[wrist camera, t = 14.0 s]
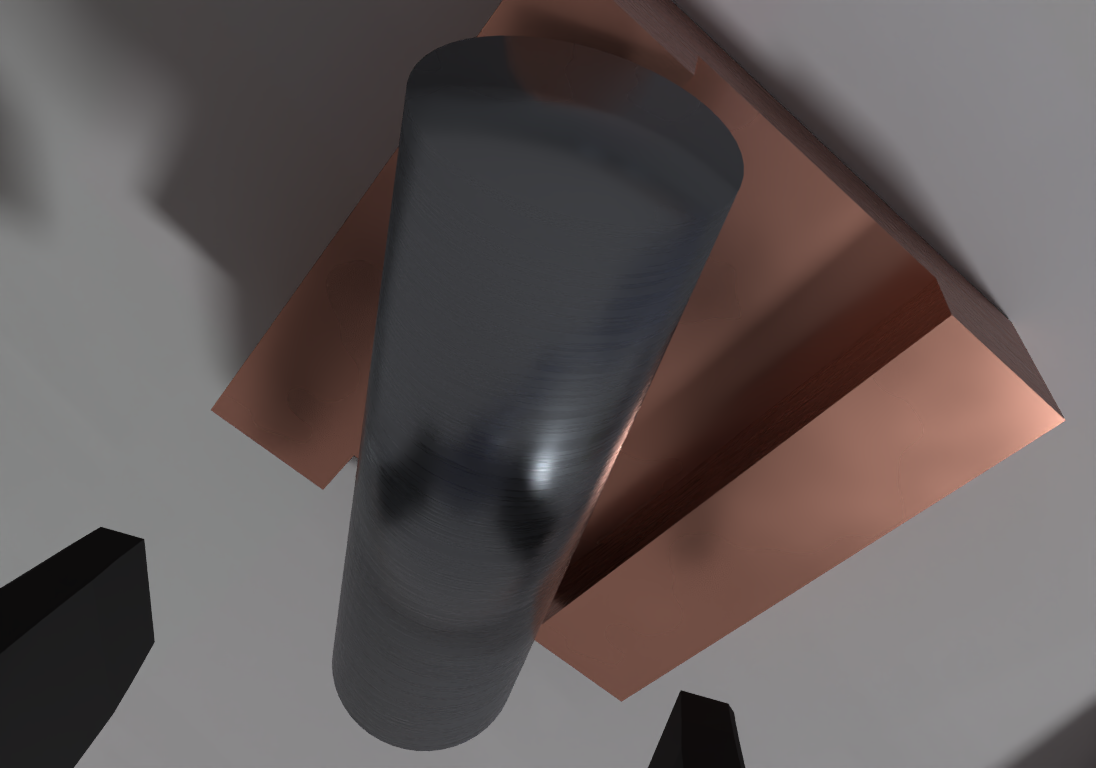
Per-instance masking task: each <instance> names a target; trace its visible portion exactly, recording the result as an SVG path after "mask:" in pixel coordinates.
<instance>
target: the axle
mask: <svg viewBox="0 0 1096 768" xmlns="http://www.w3.org/2000/svg"><path fill="white" fill-rule="evenodd" d="M743 177H744V163H743V158H742V153H741V151H740V149H739V146H738V144H737V142H736V140H735V139H734V137H733V135H732V134H731V132H730V131H729V129H728V128H727V127H726V126H725V125H724V123H723V122H722V121H721V120H720V119H719V118H718V117H717V116H716V115H715V114H714V113H713V112H712V111H711V110H710V109H709V108H708V107H707V106H706V105H704V104H703V103H702V102H701V101H700V100H698V99H697V98H696V97H694V96H693V95H692V94H690V93H689V92H687V91H686V90H684V89H683V88H681V87H680V86H678V85H676V84H675V83H673V82H671V81H670V80H668V79H666V78H665V77H663V76H661V75H659V74H657V73H655V72H653V71H651V70H649V69H647V68H645V67H642V66H640V65H638V64H636V63H633V62H631V61H629V60H626V59H623V58H621V57H618V56H615V55H613V54H610V53H606V52H603V51H600V50H597V49H594V48H590V47H586V46H582V45H578V44H574V43H569V42H564V41H559V40H554V39H547V38H539V37H529V36H504V35H499V36H484V37H476V38H470V39H464V40H461V41H457V42H453V43H450V44H447V45H445V46H442V47H440V48H437V49H436V50H434V51H432V52H431V53H429V54H427V55H426V56H425V57H424V58H423V59H421V60H420V61H419V62H418V63H417V64H416V66H415V67H414V69H413V70H412V72H411V74H410V76H409V79H408V82H407V88H406V96H405V104H404V111H403V119H402V127H401V134H400V142H399V150H398V157H397V165H396V173H395V180H394V188H393V196H392V203H391V211H390V219H389V226H388V234H387V242H386V249H385V257H384V265H383V272H382V280H381V288H380V295H379V303H378V311H377V318H376V326H375V334H374V341H373V349H372V357H371V364H370V372H369V380H368V387H367V395H366V403H365V410H364V418H363V426H362V434H361V441H360V449H359V457H358V464H357V472H356V480H355V487H354V495H353V503H352V510H351V518H350V526H349V533H348V541H347V549H346V556H345V564H344V572H343V579H342V587H341V595H340V602H339V610H338V618H337V625H336V633H335V641H334V648H333V658H332V671H333V678H334V683H335V687H336V690H337V693H338V696H339V698H340V700H341V702H342V704H343V705H344V707H345V709H346V710H347V711H348V713H349V714H350V716H351V717H352V718H353V719H354V720H355V721H356V722H357V723H358V725H359V726H361V727H362V728H363V729H364V730H366V731H367V732H368V733H369V734H371V735H372V736H374V737H376V738H377V739H379V740H381V741H383V742H385V743H388V744H390V745H393V746H396V747H400V748H403V749H409V750H415V751H433V750H442V749H446V748H450V747H454V746H457V745H459V744H462V743H464V742H466V741H468V740H470V739H472V738H473V737H475V736H477V735H478V734H479V733H481V732H482V731H483V730H485V729H486V728H487V727H488V726H489V725H490V724H491V723H492V722H493V721H494V720H495V719H496V717H497V716H498V714H499V713H500V712H501V710H502V709H503V707H504V705H505V703H506V701H507V699H508V697H509V695H510V693H511V690H512V688H513V686H514V684H515V682H516V679H517V677H518V675H519V673H520V671H521V668H522V666H523V664H524V662H525V660H526V657H527V655H528V653H529V651H530V649H531V646H532V644H533V642H534V640H535V638H536V635H537V633H538V631H539V629H540V627H541V624H542V622H543V620H544V618H545V616H546V613H547V611H548V609H549V607H550V605H551V602H552V600H553V598H554V596H555V594H556V591H557V589H558V587H559V585H560V583H561V580H562V578H563V576H564V574H565V572H566V569H567V567H568V565H569V563H570V561H571V558H572V556H573V554H574V552H575V550H576V547H577V545H578V543H579V541H580V539H581V536H582V534H583V532H584V530H585V528H586V525H587V523H588V521H589V519H590V517H591V514H592V512H593V510H594V508H595V506H596V503H597V501H598V499H599V497H600V495H601V492H602V490H603V488H604V486H605V484H606V481H607V479H608V477H609V475H610V473H611V470H612V468H613V466H614V464H615V462H616V459H617V457H618V455H619V453H620V451H621V448H622V446H623V444H624V442H625V440H626V437H627V435H628V433H629V431H630V429H631V426H632V424H633V422H634V420H635V418H636V415H637V413H638V411H639V409H640V407H641V404H642V402H643V400H644V398H645V396H646V393H647V391H648V389H649V387H650V385H651V382H652V380H653V378H654V376H655V374H656V371H657V369H658V367H659V365H660V363H661V360H662V358H663V356H664V354H665V352H666V349H667V347H668V345H669V343H670V341H671V338H672V336H673V334H674V332H675V330H676V327H677V325H678V323H679V321H680V319H681V316H682V314H683V312H684V310H685V308H686V305H687V303H688V301H689V299H690V297H691V294H692V292H693V290H694V288H695V286H696V283H697V281H698V279H699V277H700V275H701V272H702V270H703V268H704V266H705V264H706V261H707V259H708V257H709V255H710V253H711V250H712V248H713V246H714V244H715V242H716V239H717V237H718V235H719V233H720V231H721V228H722V226H723V224H724V222H725V220H726V217H727V215H728V213H729V211H730V209H731V206H732V204H733V202H734V200H735V198H736V195H737V193H738V191H739V189H740V187H741V183H742V180H743Z"/></svg>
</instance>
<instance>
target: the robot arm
mask: <svg viewBox="0 0 1096 768" xmlns="http://www.w3.org/2000/svg"><path fill="white" fill-rule="evenodd" d="M154 642H155V641H154V631H153V621H152V611H151V602H150V592H149V582H148V572H147V562H146V552H145V543H144V539H142V538H138V537H135V536H131V535H128V534H124V533H121V532H117V531H114V530H110V529H106V528H103V527H100V528H98V529H96V530H95V531H93V532H91V533H90V534H88V535H86V536H85V537H83V538H81V539H80V540H78V541H76V542H74V543H73V544H71V545H70V546H68V547H66V548H65V549H63V550H61V551H60V552H58V553H57V554H55V555H53V556H52V557H50V558H49V559H47V560H45V561H44V562H42V563H40V564H39V565H37V566H36V567H34V568H32V569H31V570H29V571H28V572H26V573H24V574H23V575H21V576H19V577H18V578H16V579H15V580H13V581H11V582H10V583H8V584H6V585H5V586H3V587H2V588H0V768H74V767H75V765H76V764H77V763H78V761H79V760H80V758H81V757H82V756H83V754H84V753H85V752H86V750H87V749H88V748H89V746H90V745H91V744H92V742H93V741H94V739H95V738H96V737H97V735H98V734H99V733H100V731H101V730H102V729H103V727H104V726H105V724H106V723H107V722H108V720H109V719H110V717H111V716H112V715H113V713H114V712H115V710H116V708H117V707H118V705H119V703H120V702H121V700H122V698H123V696H124V695H125V693H126V691H127V690H128V688H129V686H130V685H131V683H132V681H133V680H134V678H135V676H136V674H137V673H138V671H139V669H140V667H141V665H142V664H143V662H144V660H145V658H146V656H147V655H148V653H149V651H150V649H151V648H152V646H153V644H154ZM648 768H745V765H744V760H743V756H742V751H741V747H740V742H739V737H738V732H737V727H736V722H735V716H734V712H733V710H732V709H731V707H730V706H729V704H727V703H724V702H720V701H717V700H713V699H710V698H706V697H703V696H699V695H695V694H692V693H688V692H685V691H680V693H679V696H678V698H677V700H676V703H675V705H674V707H673V710H672V712H671V715H670V717H669V719H668V722H667V724H666V726H665V729H664V731H663V734H662V736H661V738H660V741H659V743H658V745H657V748H656V750H655V752H654V755H653V757H652V760H651V762H650V764H649V767H648Z"/></svg>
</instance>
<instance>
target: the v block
mask: <svg viewBox="0 0 1096 768" xmlns="http://www.w3.org/2000/svg"><path fill="white" fill-rule="evenodd" d="M499 35H504V36H529V37H539V38H547V39H554V40H559V41H564V42H569V43H574V44H578V45H582V46H586V47H590V48H594V49H597V50H600V51H603V52H606V53H610V54H613V55H615V56H618V57H621V58H623V59H626V60H629V61H631V62H633V63H636V64H638V65H640V66H642V67H645V68H647V69H649V70H651V71H653V72H655V73H657V74H659V75H661V76H663V77H665V78H666V79H668V80H670V81H671V82H673V83H675V84H676V85H678V86H680V87H681V88H683V89H684V90H686V91H687V92H689V93H690V94H692V95H693V96H694V97H696V98H697V99H698V100H700V101H701V102H702V103H703V104H704V105H706V106H707V107H708V108H709V109H710V110H711V111H712V112H713V113H714V114H715V115H716V116H717V117H718V118H719V119H720V120H721V121H722V122H723V123H724V125H725V126H726V127H727V128H728V129H729V131H730V132H731V134H732V135H733V137H734V139H735V140H736V142H737V144H738V146H739V149H740V151H741V153H742V158H743V163H744V177H743V180H742V183H741V187H740V189H739V191H738V193H737V195H736V198H735V200H734V202H733V204H732V206H731V209H730V211H729V213H728V215H727V217H726V220H725V222H724V224H723V226H722V228H721V231H720V233H719V235H718V237H717V239H716V242H715V244H714V246H713V248H712V250H711V253H710V255H709V257H708V259H707V261H706V264H705V266H704V268H703V270H702V272H701V275H700V277H699V279H698V281H697V283H696V286H695V288H694V290H693V292H692V294H691V297H690V299H689V301H688V303H687V305H686V308H685V310H684V312H683V314H682V316H681V319H680V321H679V323H678V325H677V327H676V330H675V332H674V334H673V336H672V338H671V341H670V343H669V345H668V347H667V349H666V352H665V354H664V356H663V358H662V360H661V363H660V365H659V367H658V369H657V371H656V374H655V376H654V378H653V380H652V382H651V385H650V387H649V389H648V391H647V393H646V396H645V398H644V400H643V402H642V404H641V407H640V409H639V411H638V413H637V415H636V418H635V420H634V422H633V424H632V426H631V429H630V431H629V433H628V435H627V437H626V440H625V442H624V444H623V446H622V448H621V451H620V453H619V455H618V457H617V459H616V462H615V464H614V466H613V468H612V470H611V473H610V475H609V477H608V479H607V481H606V484H605V486H604V488H603V490H602V492H601V495H600V497H599V499H598V501H597V503H596V506H595V508H594V510H593V512H592V514H591V517H590V519H589V521H588V523H587V525H586V528H585V530H584V532H583V534H582V536H581V539H580V541H579V543H578V545H577V547H576V550H575V552H574V554H573V556H572V558H571V561H570V563H569V565H568V567H567V569H566V572H565V574H564V576H563V578H562V580H561V583H560V585H559V587H558V589H557V591H556V594H555V596H554V598H553V600H552V602H551V605H550V607H549V609H548V611H547V613H546V616H545V618H544V620H543V622H542V624H541V627H540V629H539V631H538V633H537V635H536V638H535V641H537V642H538V643H540V644H541V645H542V646H544V647H545V648H547V649H548V650H550V651H551V652H552V653H554V654H555V655H557V656H558V657H559V658H561V659H562V660H564V661H565V662H566V663H568V664H569V665H571V666H572V667H573V668H575V669H576V670H578V671H579V672H581V673H582V674H583V675H585V676H586V677H588V678H589V679H590V680H592V681H593V682H595V683H596V684H597V685H599V686H600V687H602V688H603V689H604V690H606V691H607V692H609V693H610V694H612V695H613V696H614V697H616V698H617V699H619V700H620V701H621V702H622V701H623V700H625V699H626V698H628V697H629V696H631V695H633V694H634V693H636V692H637V691H639V690H641V689H642V688H644V687H645V686H647V685H648V684H650V683H652V682H653V681H655V680H656V679H658V678H659V677H661V676H663V675H664V674H666V673H667V672H669V671H671V670H672V669H674V668H675V667H677V666H678V665H680V664H682V663H683V662H685V661H686V660H688V659H689V658H691V657H693V656H694V655H696V654H697V653H699V652H701V651H702V650H704V649H705V648H707V647H708V646H710V645H712V644H713V643H715V642H716V641H718V640H719V639H721V638H723V637H724V636H726V635H727V634H729V633H731V632H732V631H734V630H735V629H737V628H738V627H740V626H742V625H743V624H745V623H746V622H748V621H749V620H751V619H753V618H754V617H756V616H757V615H759V614H761V613H762V612H764V611H765V610H767V609H768V608H770V607H772V606H773V605H775V604H776V603H778V602H779V601H781V600H783V599H784V598H786V597H787V596H789V595H791V594H792V593H794V592H795V591H797V590H798V589H800V588H802V587H803V586H805V585H806V584H808V583H810V582H811V581H813V580H814V579H816V578H817V577H819V576H821V575H822V574H824V573H825V572H827V571H828V570H830V569H832V568H833V567H835V566H836V565H838V564H840V563H841V562H843V561H844V560H846V559H847V558H849V557H851V556H852V555H854V554H855V553H857V552H858V551H860V550H862V549H863V548H865V547H866V546H868V545H870V544H871V543H873V542H874V541H876V540H877V539H879V538H881V537H882V536H884V535H885V534H887V533H888V532H890V531H892V530H893V529H895V528H896V527H898V526H900V525H901V524H903V523H904V522H906V521H907V520H909V519H911V518H912V517H914V516H915V515H917V514H918V513H920V512H922V511H923V510H925V509H926V508H928V507H930V506H931V505H933V504H934V503H936V502H937V501H939V500H941V499H942V498H944V497H945V496H947V495H948V494H950V493H952V492H953V491H955V490H956V489H958V488H960V487H961V486H963V485H964V484H966V483H967V482H969V481H971V480H972V479H974V478H975V477H977V476H979V475H980V474H982V473H983V472H985V471H986V470H988V469H990V468H991V467H993V466H994V465H996V464H997V463H999V462H1001V461H1002V460H1004V459H1005V458H1007V457H1009V456H1010V455H1012V454H1013V453H1015V452H1016V451H1018V450H1020V449H1021V448H1023V447H1024V446H1026V445H1027V444H1029V443H1031V442H1032V441H1034V440H1035V439H1037V438H1039V437H1040V436H1042V435H1043V434H1045V433H1046V432H1048V431H1050V430H1051V429H1053V428H1054V427H1056V426H1057V425H1059V424H1061V423H1062V422H1064V421H1065V419H1064V417H1063V415H1062V413H1061V411H1060V409H1059V408H1058V406H1057V404H1056V402H1055V400H1054V399H1053V397H1052V395H1051V393H1050V391H1049V389H1048V388H1047V386H1046V384H1045V382H1044V380H1043V378H1042V377H1041V375H1040V373H1039V371H1038V369H1037V368H1036V366H1035V364H1034V362H1033V360H1032V358H1031V357H1030V355H1029V353H1028V351H1027V349H1026V348H1025V346H1024V344H1023V342H1022V340H1021V338H1020V337H1019V335H1018V333H1017V331H1016V329H1015V327H1014V326H1013V324H1012V322H1011V321H1009V320H1008V319H1007V318H1006V317H1005V316H1004V315H1003V314H1002V313H1001V312H1000V311H999V310H998V309H997V308H996V307H995V306H994V305H993V304H992V303H990V302H989V301H988V300H987V299H986V298H985V297H984V296H983V295H982V294H981V293H980V292H979V291H978V290H977V289H976V288H975V287H974V286H972V285H971V284H970V283H969V282H968V281H967V280H966V279H965V278H964V277H963V276H962V275H961V274H960V273H959V272H958V271H957V270H956V269H954V268H953V267H952V266H951V265H950V264H949V263H948V262H947V261H946V260H945V259H944V258H943V257H942V256H941V255H940V254H939V253H938V252H936V251H935V250H934V249H933V248H932V247H931V246H930V245H929V244H928V243H927V242H926V241H925V240H924V239H923V238H922V237H921V236H920V235H919V234H917V233H916V232H915V231H914V230H913V229H912V228H911V227H910V226H909V225H908V224H907V223H906V222H905V221H904V220H903V219H902V218H901V217H899V216H898V215H897V214H896V213H895V212H894V211H893V210H892V209H891V208H890V207H889V206H888V205H887V204H886V203H885V202H884V201H883V200H881V199H880V198H879V197H878V196H877V195H876V194H875V193H874V192H873V191H872V190H871V189H870V188H869V187H868V186H867V185H866V184H865V183H863V182H862V181H861V180H860V179H859V178H858V177H857V176H856V175H855V174H854V173H853V172H852V171H851V170H850V169H849V168H848V167H847V166H846V165H844V164H843V163H842V162H841V161H840V160H839V159H838V158H837V157H836V156H835V155H834V154H833V153H832V152H831V151H830V150H829V149H828V148H826V147H825V146H824V145H823V144H822V143H821V142H820V141H819V140H818V139H817V138H816V137H815V136H814V135H813V134H812V133H811V132H810V131H808V130H807V129H806V128H805V127H804V126H803V125H802V124H801V123H800V122H799V121H798V120H797V119H796V118H795V117H794V116H793V115H792V114H790V113H789V112H788V111H787V110H786V109H785V108H784V107H783V106H782V105H781V104H780V103H779V102H778V101H777V100H776V99H775V98H774V97H773V96H771V95H770V94H769V93H768V92H767V91H766V90H765V89H764V88H763V87H762V86H761V85H760V84H759V83H758V82H757V81H756V80H755V79H753V78H752V77H751V76H750V75H749V74H748V73H747V72H746V71H745V70H744V69H743V68H742V67H741V66H740V65H739V64H738V63H737V62H735V61H734V60H733V59H732V58H731V57H730V56H729V55H728V54H727V53H726V52H725V51H724V50H723V49H722V48H721V47H720V46H719V45H717V44H716V43H715V42H714V41H713V40H712V39H711V38H710V37H709V36H708V35H707V34H706V33H705V32H704V31H703V30H702V29H701V28H700V27H698V26H697V25H696V24H695V23H694V22H693V21H692V20H691V19H690V18H689V17H688V16H687V15H686V14H685V13H684V12H683V11H682V10H680V9H679V8H678V7H677V6H676V5H675V4H674V3H673V2H672V1H671V0H503V1H502V2H501V4H500V5H499V6H498V8H497V9H496V11H495V12H494V13H493V15H492V16H491V18H490V19H489V20H488V22H487V23H486V25H485V26H484V27H483V29H482V30H481V32H480V33H479V34H478V36H477V37H484V36H499ZM398 150H399V147H398V148H397V149H396V151H395V152H394V154H393V155H392V156H391V158H390V159H389V161H388V162H387V163H386V165H385V166H384V168H383V169H382V170H381V172H380V173H379V175H378V176H377V177H376V179H375V180H374V182H373V183H372V184H371V186H370V187H369V189H368V190H367V192H366V193H365V194H364V196H363V197H362V199H361V200H360V201H359V203H358V204H357V206H356V207H355V208H354V210H353V211H352V213H351V214H350V215H349V217H348V218H347V220H346V221H345V222H344V224H343V225H342V227H341V228H340V229H339V231H338V232H337V234H336V235H335V236H334V238H333V239H332V241H331V242H330V243H329V245H328V246H327V248H326V249H325V250H324V252H323V253H322V255H321V256H320V257H319V259H318V260H317V262H316V263H315V264H314V266H313V267H312V269H311V270H310V271H309V273H308V274H307V276H306V277H305V278H304V280H303V281H302V283H301V284H300V286H299V287H298V288H297V290H296V291H295V293H294V294H293V295H292V297H291V298H290V300H289V301H288V302H287V304H286V305H285V307H284V308H283V309H282V311H281V312H280V314H279V315H278V316H277V318H276V319H275V321H274V322H273V323H272V325H271V326H270V328H269V329H268V330H267V332H266V333H265V335H264V336H263V337H262V339H261V340H260V342H259V343H258V344H257V346H256V347H255V349H254V350H253V351H252V353H251V354H250V356H249V357H248V358H247V360H246V361H245V363H244V364H243V365H242V367H241V368H240V370H239V371H238V372H237V374H236V375H235V377H234V378H233V380H232V381H231V382H230V384H229V385H228V387H227V388H226V389H225V391H224V392H223V394H222V395H221V396H220V398H219V399H218V401H217V402H216V403H215V405H214V406H213V408H212V409H211V410H212V411H213V412H214V413H216V414H217V415H219V416H220V417H221V418H223V419H224V420H226V421H227V422H228V423H230V424H231V425H233V426H234V427H235V428H237V429H238V430H240V431H241V432H243V433H244V434H245V435H247V436H248V437H250V438H251V439H252V440H254V441H255V442H257V443H258V444H259V445H261V446H262V447H264V448H265V449H266V450H268V451H269V452H271V453H272V454H274V455H275V456H276V457H278V458H279V459H281V460H282V461H283V462H285V463H286V464H288V465H289V466H290V467H292V468H293V469H295V470H296V471H297V472H299V473H300V474H302V475H303V476H304V477H306V478H307V479H309V480H310V481H312V482H313V483H314V484H316V485H317V486H319V487H320V488H321V489H324V488H325V487H326V486H327V485H328V484H329V483H330V481H331V480H332V479H333V478H334V477H335V476H336V475H337V474H338V472H339V471H340V470H341V469H342V468H343V467H344V466H345V465H346V464H347V462H348V461H349V460H350V459H351V458H352V457H353V456H356V457H357V458H358V457H359V449H360V441H361V434H362V426H363V418H364V410H365V403H366V395H367V387H368V380H369V372H370V364H371V357H372V349H373V341H374V334H375V326H376V318H377V311H378V303H379V295H380V288H381V280H382V272H383V265H384V257H385V249H386V242H387V234H388V226H389V219H390V211H391V203H392V196H393V188H394V180H395V173H396V165H397V157H398Z"/></svg>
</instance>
